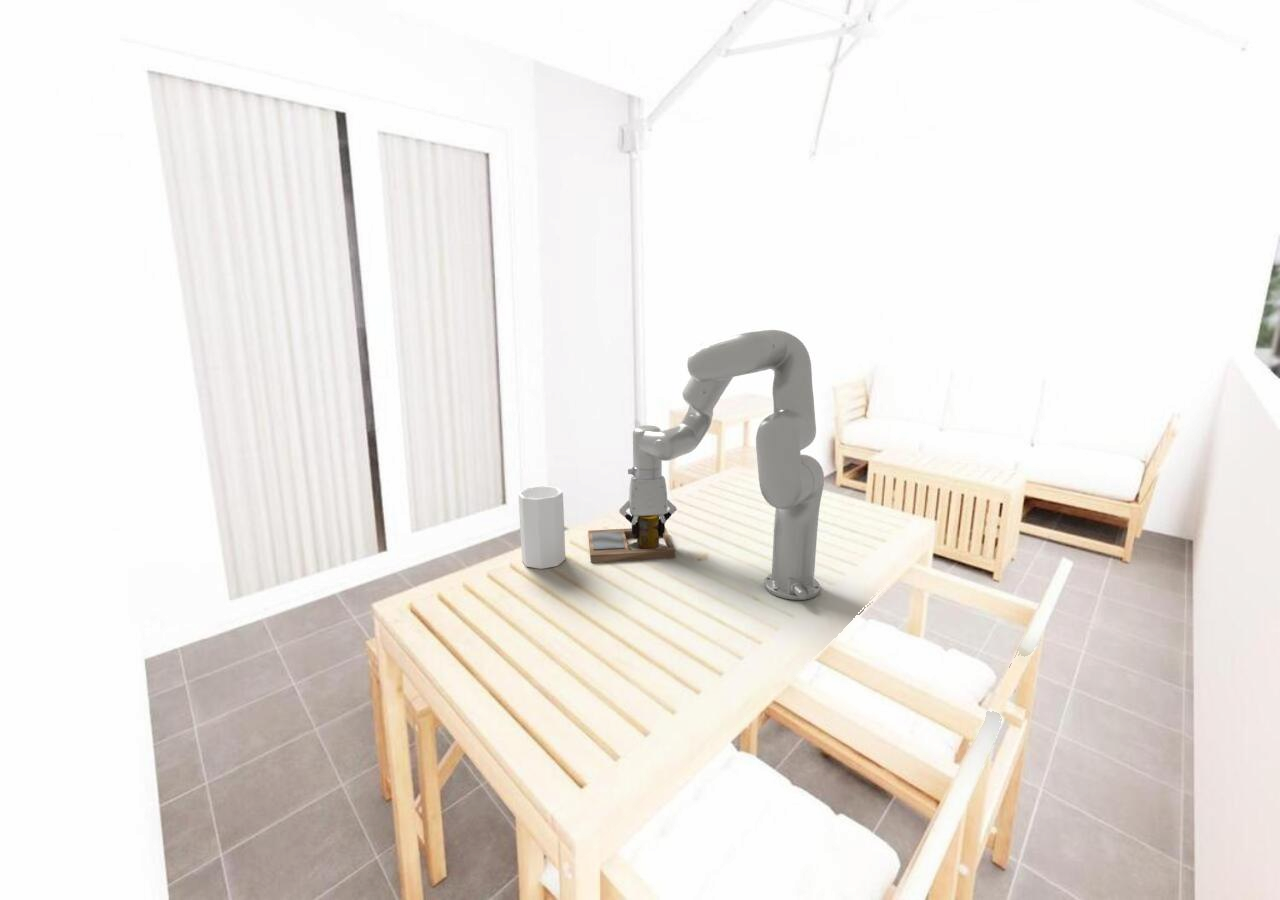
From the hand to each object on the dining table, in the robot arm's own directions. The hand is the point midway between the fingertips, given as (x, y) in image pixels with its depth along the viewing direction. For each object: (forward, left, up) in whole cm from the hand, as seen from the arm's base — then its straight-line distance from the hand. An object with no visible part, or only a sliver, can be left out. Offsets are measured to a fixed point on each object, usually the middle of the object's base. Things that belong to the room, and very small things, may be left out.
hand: (648, 535), depth 163 cm
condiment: (0, +1, -3) cm, 3 cm away
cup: (-5, +28, -3) cm, 29 cm away
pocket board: (0, +5, -3) cm, 6 cm away
